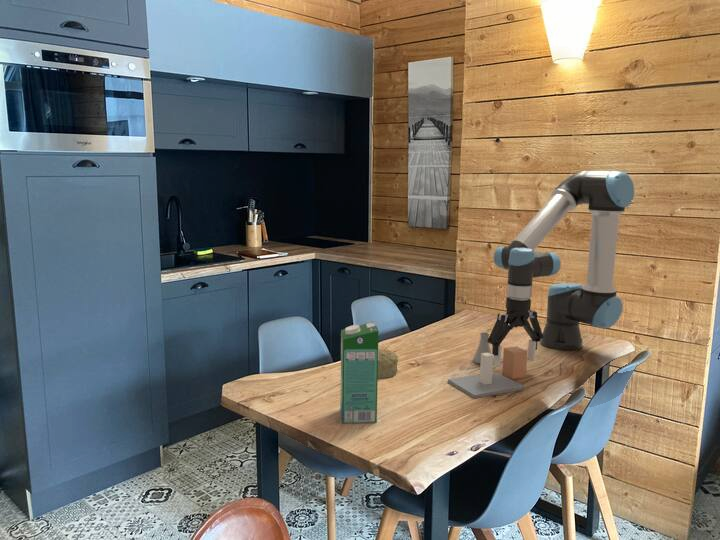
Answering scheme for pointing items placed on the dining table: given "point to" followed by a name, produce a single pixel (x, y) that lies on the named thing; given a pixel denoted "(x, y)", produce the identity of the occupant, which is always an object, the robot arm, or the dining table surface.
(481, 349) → the flask
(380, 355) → the decorative object
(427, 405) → the dining table surface
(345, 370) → the milk carton
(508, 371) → the peach square-faced block
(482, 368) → the grey flat base
